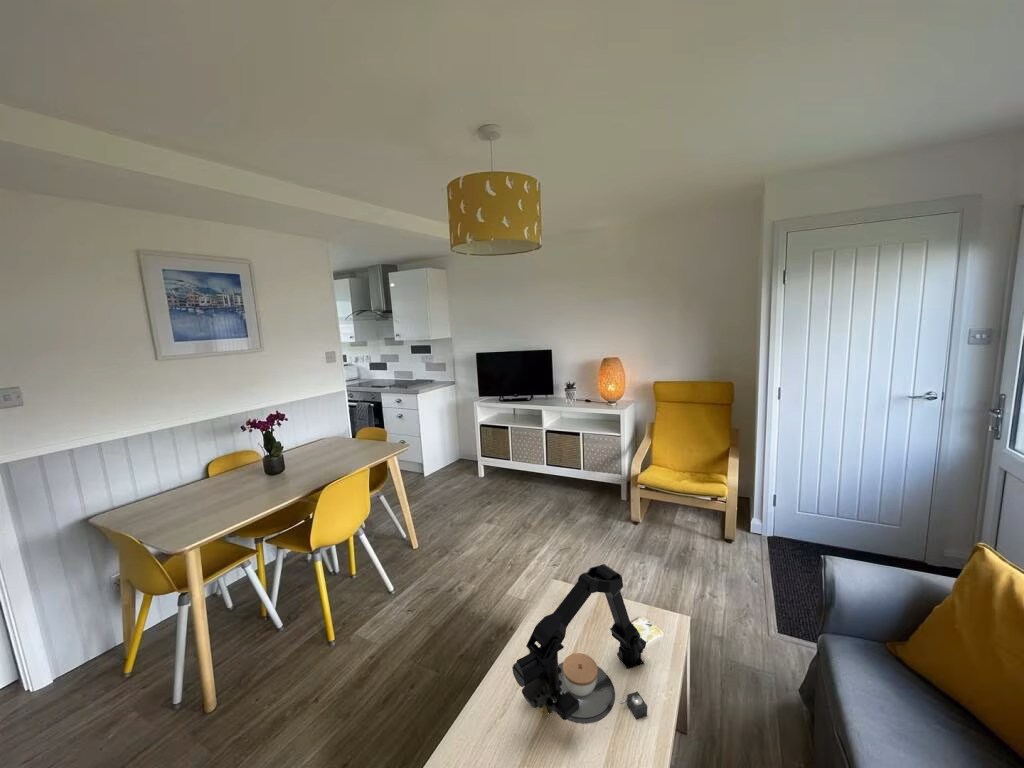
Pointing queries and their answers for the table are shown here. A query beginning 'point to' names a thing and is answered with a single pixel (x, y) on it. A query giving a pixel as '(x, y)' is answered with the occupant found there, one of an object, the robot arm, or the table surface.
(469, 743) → the table surface
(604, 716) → the turntable base
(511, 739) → the table surface
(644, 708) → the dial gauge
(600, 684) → the turntable
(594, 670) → the lidded jar
